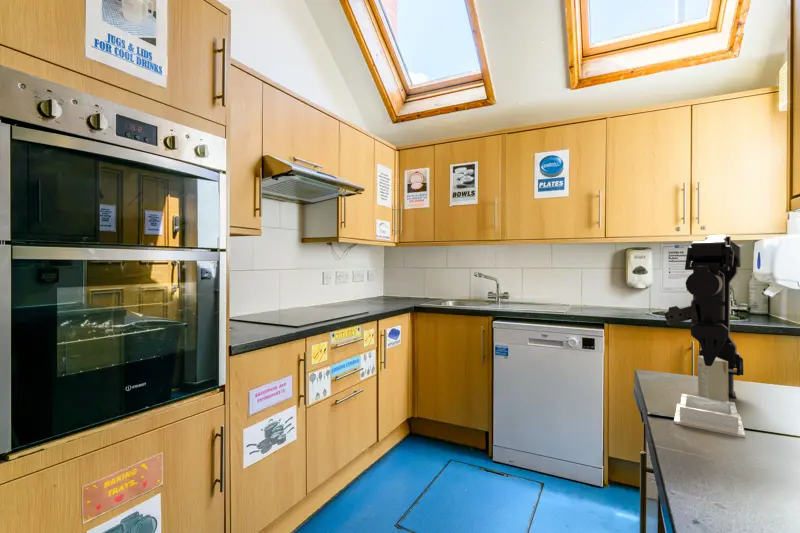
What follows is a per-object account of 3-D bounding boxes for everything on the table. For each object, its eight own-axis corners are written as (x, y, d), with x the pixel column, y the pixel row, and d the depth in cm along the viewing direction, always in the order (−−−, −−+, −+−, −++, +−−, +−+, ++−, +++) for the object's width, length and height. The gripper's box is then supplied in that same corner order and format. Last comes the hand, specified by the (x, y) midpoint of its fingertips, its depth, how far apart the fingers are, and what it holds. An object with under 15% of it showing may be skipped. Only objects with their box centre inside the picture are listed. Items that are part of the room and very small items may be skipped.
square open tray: (677, 405, 98) (677, 391, 98) (739, 417, 91) (739, 401, 91) (674, 423, 87) (674, 407, 87) (745, 438, 80) (745, 420, 80)
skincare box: (729, 412, 94) (729, 361, 94) (708, 410, 96) (708, 360, 95) (716, 403, 100) (717, 356, 100) (696, 401, 102) (697, 354, 102)
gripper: (668, 292, 101) (668, 351, 101) (663, 296, 87) (662, 365, 87) (723, 294, 95) (723, 358, 95) (728, 298, 80) (727, 374, 80)
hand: (708, 363), depth 89 cm, fingers open, 5 cm apart
